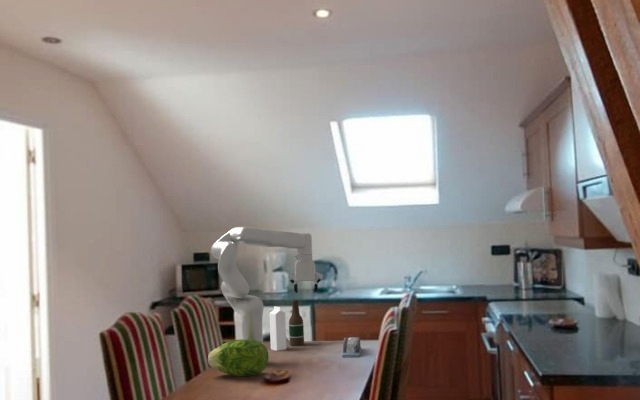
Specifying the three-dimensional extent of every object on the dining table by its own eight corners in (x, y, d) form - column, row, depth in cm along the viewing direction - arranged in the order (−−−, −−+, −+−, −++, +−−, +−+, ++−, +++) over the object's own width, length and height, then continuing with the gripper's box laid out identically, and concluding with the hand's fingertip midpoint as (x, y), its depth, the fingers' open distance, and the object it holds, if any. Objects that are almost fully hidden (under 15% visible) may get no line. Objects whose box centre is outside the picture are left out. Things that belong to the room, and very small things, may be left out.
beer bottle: (303, 346, 310) (302, 300, 311) (289, 346, 310) (287, 301, 312) (304, 343, 318) (302, 298, 319) (290, 343, 318) (288, 299, 319)
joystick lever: (355, 353, 281) (355, 344, 281) (346, 353, 282) (345, 344, 282) (357, 346, 298) (357, 337, 299) (348, 346, 299) (348, 337, 299)
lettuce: (214, 371, 262) (213, 336, 262) (272, 371, 257) (271, 335, 258) (202, 380, 247) (201, 343, 248) (264, 380, 243) (262, 342, 243)
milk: (276, 351, 300) (275, 307, 301) (270, 349, 305) (268, 306, 306) (286, 349, 304) (285, 306, 305) (280, 347, 309) (278, 305, 310)
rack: (359, 356, 279) (358, 342, 279) (342, 357, 280) (341, 343, 280) (361, 349, 297) (360, 335, 297) (345, 349, 297) (344, 336, 298)
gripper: (286, 259, 291) (287, 293, 290) (321, 257, 289) (322, 292, 288) (289, 258, 298) (290, 292, 297) (322, 257, 296) (324, 291, 295)
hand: (306, 292), depth 293 cm, fingers open, 9 cm apart
